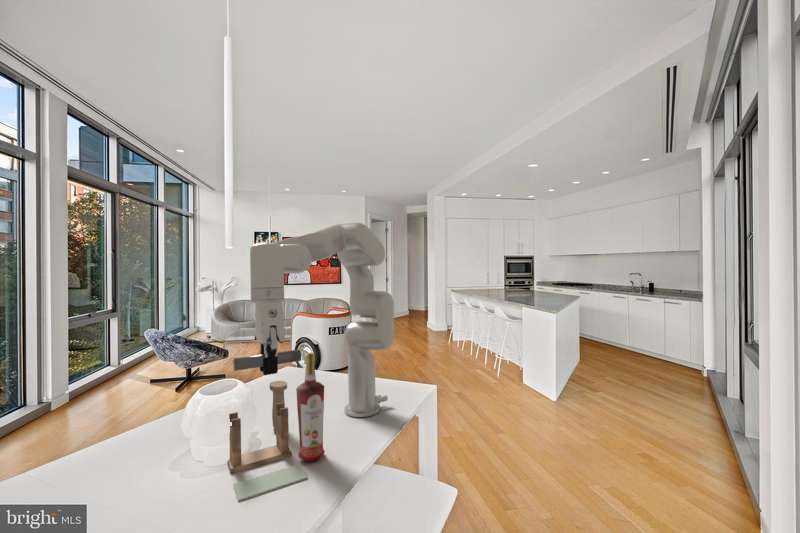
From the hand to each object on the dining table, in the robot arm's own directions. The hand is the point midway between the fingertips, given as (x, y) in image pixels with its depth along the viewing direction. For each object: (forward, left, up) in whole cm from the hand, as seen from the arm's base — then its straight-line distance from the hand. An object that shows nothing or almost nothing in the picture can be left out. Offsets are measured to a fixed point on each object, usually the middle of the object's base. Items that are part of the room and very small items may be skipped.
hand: (268, 371), depth 87 cm
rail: (0, 0, +3) cm, 3 cm away
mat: (0, 0, -26) cm, 26 cm away
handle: (-9, -27, -27) cm, 39 cm away
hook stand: (0, -13, -26) cm, 29 cm away
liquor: (-12, -5, -27) cm, 30 cm away
